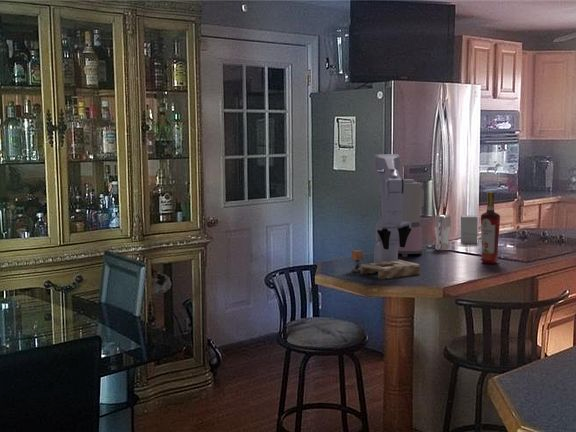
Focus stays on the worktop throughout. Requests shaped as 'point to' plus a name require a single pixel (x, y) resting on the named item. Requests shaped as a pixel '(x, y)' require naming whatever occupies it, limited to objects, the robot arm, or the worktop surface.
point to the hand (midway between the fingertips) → (394, 248)
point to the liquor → (490, 232)
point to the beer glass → (442, 231)
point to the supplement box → (469, 228)
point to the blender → (412, 216)
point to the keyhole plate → (391, 268)
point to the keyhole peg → (357, 259)
